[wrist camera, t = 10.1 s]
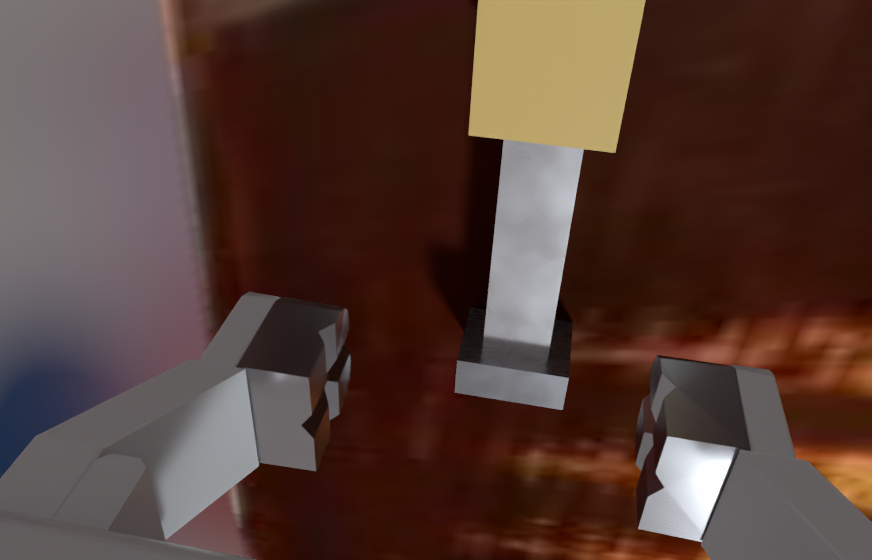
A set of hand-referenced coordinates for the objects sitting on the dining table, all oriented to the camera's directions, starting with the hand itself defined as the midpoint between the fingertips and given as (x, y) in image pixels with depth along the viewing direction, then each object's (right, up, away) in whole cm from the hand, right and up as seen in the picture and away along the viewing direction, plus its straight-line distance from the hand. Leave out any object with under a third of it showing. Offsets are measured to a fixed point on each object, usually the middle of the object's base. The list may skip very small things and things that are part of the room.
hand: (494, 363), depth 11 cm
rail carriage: (+4, +11, +16) cm, 20 cm away
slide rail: (+4, +8, +20) cm, 22 cm away
